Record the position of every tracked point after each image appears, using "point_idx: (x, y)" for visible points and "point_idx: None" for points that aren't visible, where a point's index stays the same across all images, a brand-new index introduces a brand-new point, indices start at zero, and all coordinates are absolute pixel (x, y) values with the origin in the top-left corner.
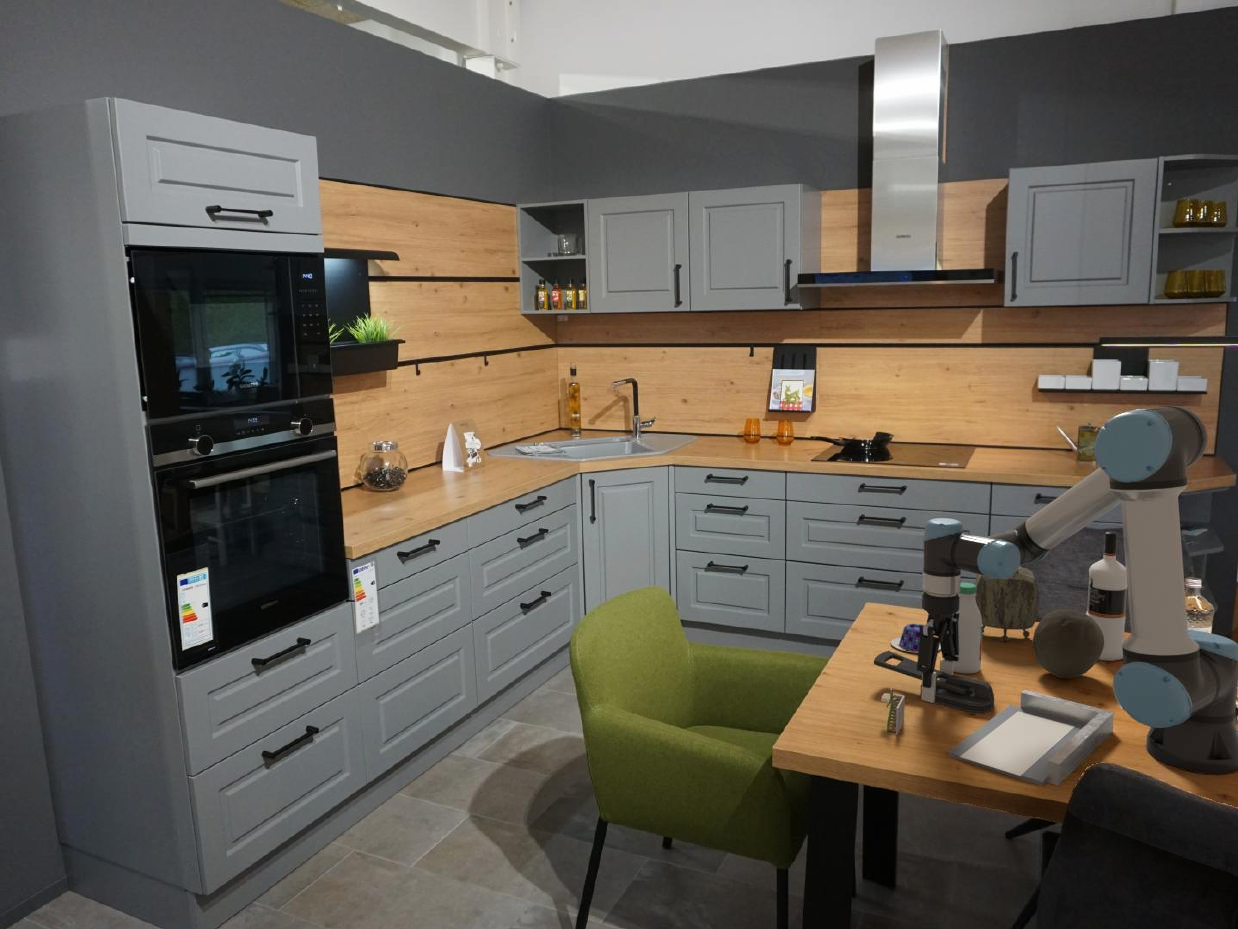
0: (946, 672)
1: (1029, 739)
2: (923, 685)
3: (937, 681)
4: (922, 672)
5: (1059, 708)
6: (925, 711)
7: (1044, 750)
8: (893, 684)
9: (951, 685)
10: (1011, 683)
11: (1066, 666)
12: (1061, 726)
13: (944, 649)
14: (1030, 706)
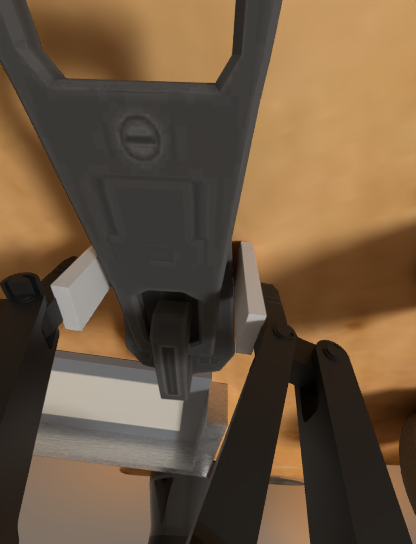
0: (239, 300)
1: (87, 404)
2: (67, 262)
3: (119, 300)
4: (57, 279)
5: (199, 438)
6: (60, 251)
7: (72, 415)
8: (197, 45)
9: (134, 331)
10: (364, 359)
11: (401, 460)
12: (167, 423)
13: (244, 387)
14: (206, 404)
